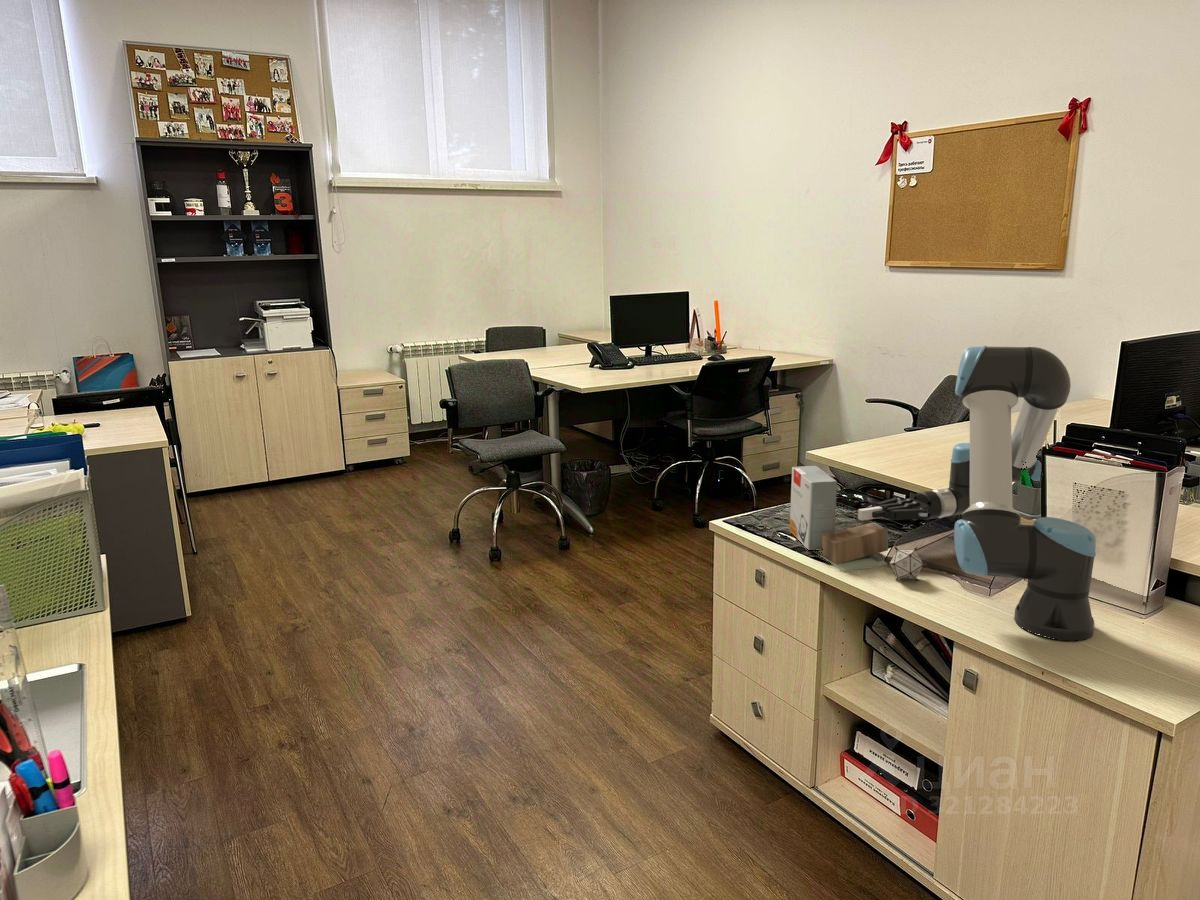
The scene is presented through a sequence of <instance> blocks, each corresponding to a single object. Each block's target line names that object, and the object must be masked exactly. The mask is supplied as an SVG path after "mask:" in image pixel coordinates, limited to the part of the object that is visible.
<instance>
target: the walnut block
mask: <svg viewBox="0 0 1200 900" xmlns="http://www.w3.org/2000/svg"><path fill="white" fill-rule="evenodd" d="M888 531H889V530H888V528H886V527H884V526H882V525H879V524H878V523H876V522H869V523H865V524H862V525H858V526H853V527H849V528H847V529H843V530H837V531H834V533H830V534H826V535H822V549H823V557H825V558H826V559H828V560H830V561H831V562H833V563H834V564H839V563H843V562H847V561H850V560H854V559H858V558H861V557H865V556H869V555H873V554H880V553H883V552H887V551H889V535H888V533H889V532H888Z"/></svg>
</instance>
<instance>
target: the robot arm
mask: <svg viewBox="0 0 1200 900" xmlns="http://www.w3.org/2000/svg"><path fill="white" fill-rule="evenodd" d="M960 358H961V359H960V362H959V366H958V370H957V371H958V372H957V376H956V381H955V392H954V394H955V395H956V396H959V397H962V404H963V406H964V407H966V408H967V409H968V410H969V442H961V443H957V444H955V445H954V446H953V448H952V452H951V453H952V454H951V459H950V469H949V470H950V471H949V472H950V473H949V482H948V488H941V489H933V490H927V491H926V490H925V491H920V492H917V493H916V495H915V496H914V497H913V498H911V497H910V498H905V499H901V498H900V497H899V496H894V497H893V498H890V499H886V500H885V499H884V500H882V501H878V502H875V506H873V507H872V506H871V507H865V508H858V510H857V519H858V520H859V521H869V520H873V519H874V520H876V519H881V518H884V519H889V520H891V521H898V520H899V521H901V520H904V521H905V520H924V521H925V520H932V519H943V518H945V517H951V516H957V515H958V516H959V515H961V519H958V520H957V521H955V522H954V527H953V533H954V536H953V538H954V542H953V543H954V550H955V555H956V556H955V557H956V559H957V562H958V565H959V568H960V569H961V570H962V571H963V572H964V573H965V574H970V575H977V576H981V577H987V576H988V577H998V578H1008V579H1009V578H1011V579H1020V580H1021V579H1022V580H1027V584H1026V588H1025V590H1024V592H1023V593H1022V595H1021V597H1020V599H1019V601H1018V603H1017V605H1016V606H1015V610H1014V616H1013V620H1014V623H1016V624H1017V626H1019V625H1020V626H1021V627H1023V628H1024V629H1026V630H1029V631H1031V632H1033V633H1036V634H1040V635H1042V636H1046V637H1050V638H1054V639H1059V640H1058V641H1061V640H1070V641H1069V642H1076V641H1075V640H1080V641H1085V640H1088V639H1090V638H1091V637H1093V634H1094V632H1095V620H1094V617H1093V615H1092V609H1091V603H1090V599H1089V597H1090V591H1091V590H1090V588H1091V581H1092V575H1093V568H1094V564H1095V563H1094V561H1095V557H1096V555H1097V553H1096V552H1097V551H1096V547H1097V546H1096V544H1097V541H1096V540H1097V538H1096V536H1095V534H1094V533H1093V532H1092V531H1091V529H1088V528H1087V527H1085V526H1084V525H1081V524H1079V523H1076V522H1073V521H1071V520H1066V519H1062V518H1057V517H1052V516H1051V517H1050V516H1042V517H1041V516H1039V517H1037V518H1035V520H1034V521H1033V524H1032V525H1031V524H1030V525H1029V524H1022V523H1021V521H1022V519H1021V514H1020V513H1019V512H1018V511H1017V510H1016V509H1015V508H1014V506H1013V505H1014V504H1013V483H1021V482H1020V476H1021V468H1022V472H1023V471H1024V470H1023V469H1024V468H1025V471H1026V470H1028V473H1029V476H1030V477H1031V479H1032V480H1034V481H1039V482H1040V481H1041V480H1040V475H1041V462H1040V461H1039V460H1037V458H1036V455H1037V453H1038V451H1039V450H1040V449H1041V450H1042V449H1043V447H1044V444H1045V442H1046V439H1047V436H1048V434H1049V432H1050V430H1051V426H1052V424H1053V422H1054V420H1055V417H1056V415H1057V412H1058V410H1059V409H1060V408H1062V407H1063V406H1064V405H1065V404H1066V403H1067V400H1068V398H1069V396H1070V392H1071V386H1072V385H1071V377H1070V374H1069V370H1068V369H1067V367H1066V365H1065V364H1064V363H1063V362H1062V360H1061V359H1060V358H1059V357H1058V356H1057V355H1056V354H1054V353H1052V352H1051V351H1050V350H1047V349H1044V348H1041V347H1035V346H1028V347H1027V346H1024V347H1023V346H1020V347H1019V346H987V345H984V346H969V347H967V348H966V349H965V350H964V351H963V353H962V355H961V357H960ZM1019 398H1023V401H1022V404H1021V408H1020V411H1019V414H1018V416H1017V419H1016V423H1015V426H1014V428H1013V431H1012V409H1013V408H1014V407H1015V406H1016V405H1017V404H1018V403H1019ZM1022 461H1023V462H1022ZM1025 462H1026V463H1025ZM1023 464H1024V465H1023ZM1026 466H1027V468H1026ZM1020 626H1019V627H1020ZM1021 627H1020V628H1021ZM1023 628H1022V629H1023ZM1024 629H1023V630H1024ZM1026 630H1025V631H1026ZM1033 633H1032V634H1033ZM1054 639H1053V640H1054ZM1084 639H1085V640H1084Z"/></svg>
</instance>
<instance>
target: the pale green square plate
mask: <svg viewBox="0 0 1200 900" xmlns="http://www.w3.org/2000/svg"><path fill="white" fill-rule="evenodd" d="M816 552H817V551H816ZM818 552H820V553H821V552H822V553H821V555H822V554H823V550H819V551H818ZM818 555H819V554H818ZM822 557H823V555H822ZM882 557H883V556H882V555H879V553H876V554H873V555H869V556H865V557H861V558H858V559H854V560H850V561H847V562H843V563H839V564H834V563H833V562H831V561H830V560H828V559H826V558H825V557H823V558H824V559H826V560H827V561H829V562H830V563H831V564H830V563H829V562H828V563H829V564H830V565H832V564H833V565H834V566H833V567H835V568H837V569H839V570H840V571H842V573H848V572H853V571H858V570H865V569H871V568H877V567H883V566H889V565H888V564H886V563H887V562H886V561H884V560H882ZM824 559H823V560H824ZM827 561H826V562H827ZM847 571H848V572H847Z"/></svg>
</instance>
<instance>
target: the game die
mask: <svg viewBox="0 0 1200 900" xmlns="http://www.w3.org/2000/svg"><path fill="white" fill-rule="evenodd" d="M894 549H895V552H894V553H893V556H892V557H891V560H890V562H886V564H888V565H887V566H889V567H890V568H891V569H892V571H893V573H894V575H895V576H896V579H895V581H896V582H898V580H899V579H906V580H907V579H910V580H911V579H914V581H916V582H919V579H918V578H917V577H918V576H919V574H920V572H921V570H922V569H923V566H924V567H926V566H928V564H927V563H923V561H922V559H921V557H920V556H919V554H918V552H917V550H918V547H914V549H898V547H896V546H894Z"/></svg>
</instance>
